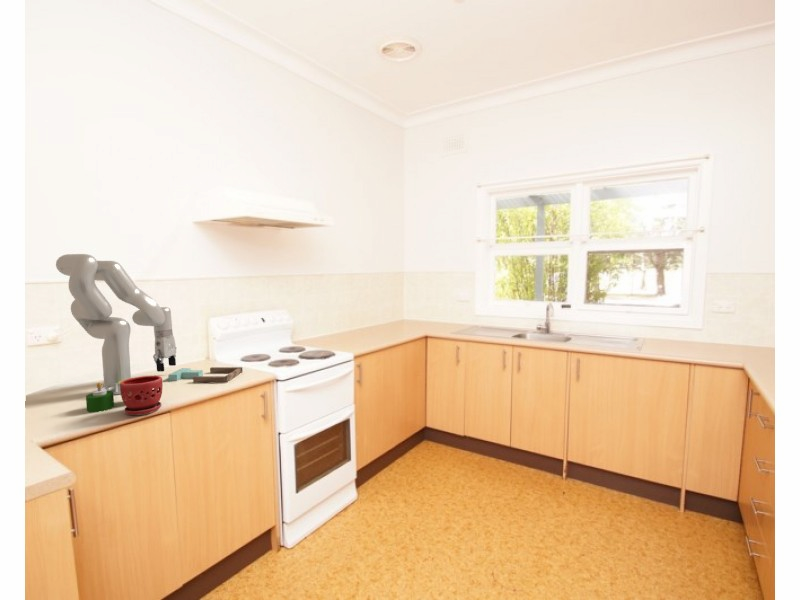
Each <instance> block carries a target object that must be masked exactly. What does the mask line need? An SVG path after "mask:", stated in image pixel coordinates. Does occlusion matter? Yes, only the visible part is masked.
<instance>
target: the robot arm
mask: <svg viewBox="0 0 800 600" xmlns="http://www.w3.org/2000/svg"><path fill="white" fill-rule="evenodd" d="M55 262H56V263H55V267H56V269H57V271H58V272H59V273H60V274H62V275H64V276H68V277H69V278H68V290H69V292H70V295H71V296H72V297H73V299H74V300H73V301H72V303H71V304H70V311H71V312H70V313H71V314H72V316H73V317H74V319H75V320H76V322H78V323H79V326H81V327H82V328H83V329H84V331H85V332H86V333H87V334H88V335H89V336H91V337H92V338H95V339H98V340H99V339H100V340H103V344H102V347H101V359H102V372H103V373H102V376H103V383H102V386H101V389H106V390H107V391H113V396H117V395H121V391H120V385H119V384H118V382H119V381H121V380H124V379H129V378H132V376H131V375H132V374H131V373H132V372H131V358H130V357H131V356H130V336H131V326H130V323H129V322H128V321H127V320H126V319H124V318H121V317H113V316H111V315H112V314H113V306H112V305H111V304H110V301H108V300H107V298H106V297H105V296H104V295H103V293H102V292H101V291H100V289H99V288H98V286H97V284H96V282H95V281H99V282H101V281H103V282H104V283H106V285H107V286H108V287H109V289H111V291H112V292H113V294H114V295H115V296H116V298H117V299H118V300H121V302H125V303H126V304H129V305H132V306H134V307H136V309H138V310H136V311H135V312H133V314H132V317H131V319H132V321H133V323H134V324H136V325H138V326H143V327H153V334H154V354H153V356H152V357H153V360H154V362H155V364H156V365H155V366H156V371H157V372H165V363H164V360H165V359H167V360H168V366H170V367H172V366H176V365H177V364H176V363H177V361H176V357H177V355H176V353H177V346H176V341H175V336H174V333H173V321H172V311H171V308H169V307H167V306H163V307H162V306H160V305H159V304H158V303H157V302H156V300H155V299H154V298H152V297H151V296H149V294H147V293H146V292H144V291H143V290H142V289H140V288H139V287H138V286H137V285H136V283H135V282H134V281H133V280H132V278H131V276H129V273H127V271H126V270H125V269H124V267H123V266H122V265H121V264H120V263H119V262H118V261H115V260H97V258H95V257H94V256H93V255H91V254H87V253H86V254H85V253H75V254H74V253H70V254H69V253H68V254H63V255H61V256H59V257H58V258H57V260H56V261H55ZM96 390H98V388H96Z"/></svg>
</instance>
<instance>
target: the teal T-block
mask: <svg viewBox="0 0 800 600" xmlns="http://www.w3.org/2000/svg"><path fill="white" fill-rule="evenodd" d="M203 371H204V370H203V369H194V370H193V369H192V370H191V368H190V367H182V368H179V369H178V370H175V371H172V372H171V373H169V374H167V375H168V382H178V381H180V380H182V379H181V378H193V377H195V376H204V373H203ZM179 379H180V380H179ZM177 380H178V381H177Z"/></svg>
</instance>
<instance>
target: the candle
mask: <svg viewBox="0 0 800 600" xmlns="http://www.w3.org/2000/svg"><path fill="white" fill-rule="evenodd" d="M102 387H103V384H102V383H101V382H97V384H96V389H95V390H93V391H92V392H91V393H88V394H87V395H85V402H86V403H85V404H86V412H87V411H88V413H99V411H101V412H105V411H108V409H109V410H111V409H114V407H115V400H114V396H115V395H113V391H107V390H106V389H101V388H102ZM97 389H98V390H97ZM104 410H105V411H104Z"/></svg>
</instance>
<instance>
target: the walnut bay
mask: <svg viewBox="0 0 800 600" xmlns="http://www.w3.org/2000/svg"><path fill="white" fill-rule="evenodd" d="M209 370H210V371H209V373H210V374H226V375H225V376H222V375H221V376H216V375H215V376H214V375H213V376H210V375H209V376H206V375H205V376H204V375H203V376H195V377H193V379H192V383H193V382H227V383H229V382H230V381H232V380H233V379H234V378H236V377H237V376H239V375H240V373H241V374H242V373H243V367H242V366H240V367H239V366H238V367H237V366H236V367H235V366H233V367H231V366H230V367H229V366H228V367H227V366H226V367H225V366H224V367H223V366H219V367H215V366H214V367H212V366H211V367H210V368H209ZM228 381H229V382H228Z"/></svg>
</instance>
